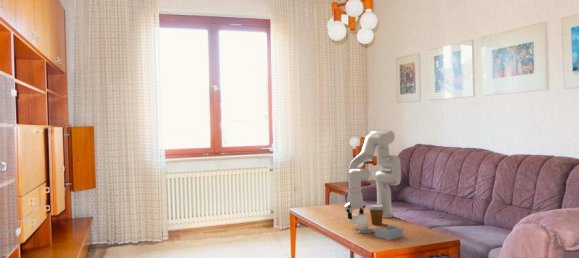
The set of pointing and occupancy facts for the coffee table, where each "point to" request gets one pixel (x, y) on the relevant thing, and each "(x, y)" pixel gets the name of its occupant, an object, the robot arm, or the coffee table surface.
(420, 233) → the coffee table surface
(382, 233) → the holder
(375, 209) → the disposable coffee cup
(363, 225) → the white lever knob
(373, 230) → the grey round disc
